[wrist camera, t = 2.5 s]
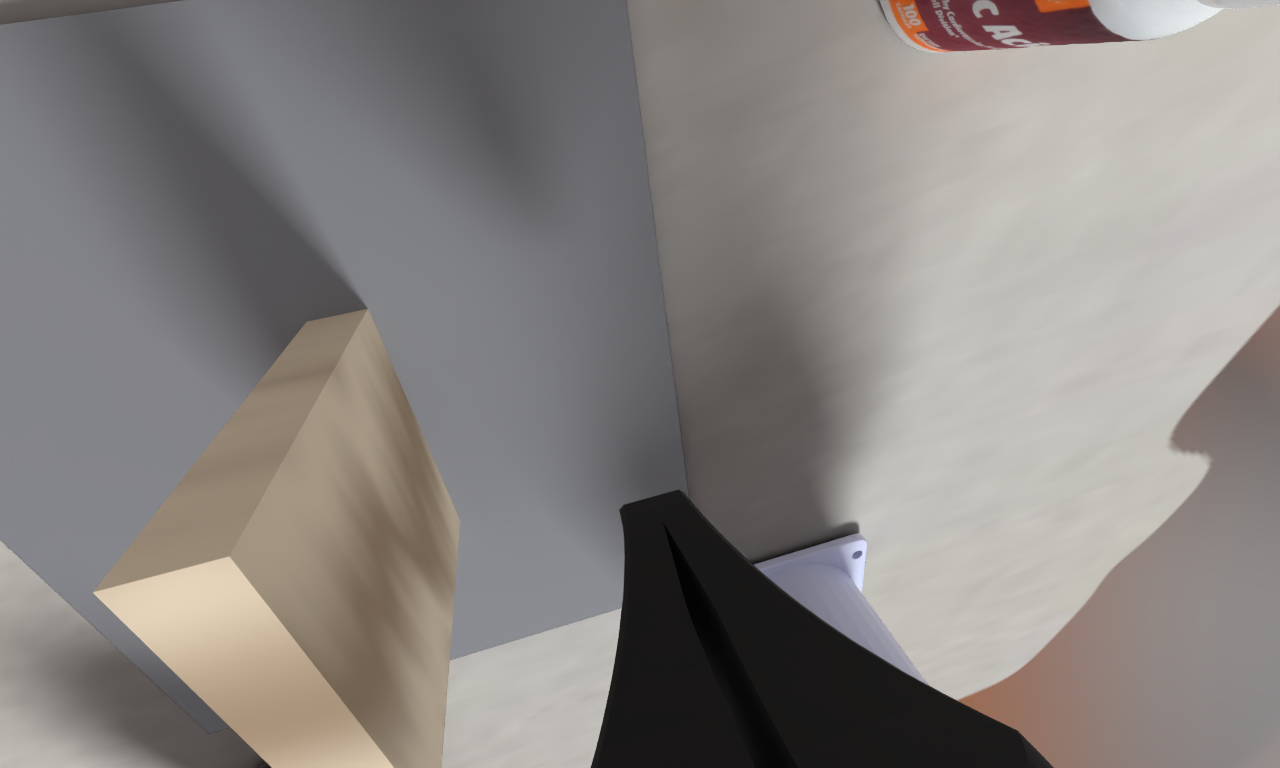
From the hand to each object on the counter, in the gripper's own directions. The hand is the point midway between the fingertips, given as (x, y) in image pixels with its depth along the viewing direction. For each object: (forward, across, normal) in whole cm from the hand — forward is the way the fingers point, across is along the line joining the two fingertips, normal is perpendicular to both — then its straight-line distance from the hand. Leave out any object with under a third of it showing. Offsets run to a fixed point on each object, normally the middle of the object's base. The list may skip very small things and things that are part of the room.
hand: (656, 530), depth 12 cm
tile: (+7, +7, 0) cm, 9 cm away
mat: (+7, +8, 0) cm, 10 cm away
